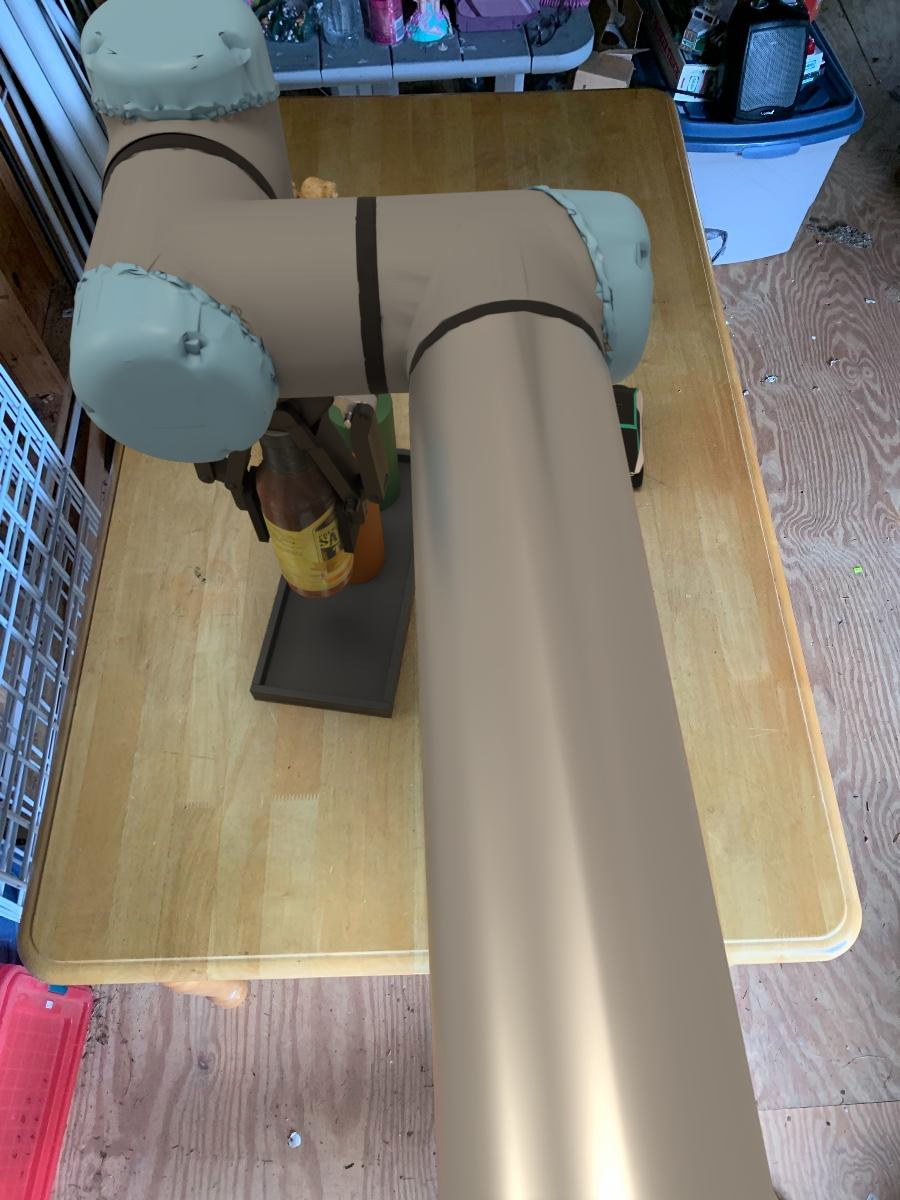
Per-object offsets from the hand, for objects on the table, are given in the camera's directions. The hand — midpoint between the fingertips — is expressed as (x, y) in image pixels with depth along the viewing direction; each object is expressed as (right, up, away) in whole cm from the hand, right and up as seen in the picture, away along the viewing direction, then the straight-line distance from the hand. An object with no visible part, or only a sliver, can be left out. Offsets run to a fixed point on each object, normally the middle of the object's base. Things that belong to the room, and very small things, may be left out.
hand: (310, 533), depth 67 cm
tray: (+1, -3, +21) cm, 21 cm away
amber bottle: (+1, -1, +21) cm, 21 cm away
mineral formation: (-11, +44, +46) cm, 64 cm away
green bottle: (+3, +7, +25) cm, 26 cm away
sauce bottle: (0, -3, +5) cm, 6 cm away
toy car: (+30, +12, +29) cm, 43 cm away
